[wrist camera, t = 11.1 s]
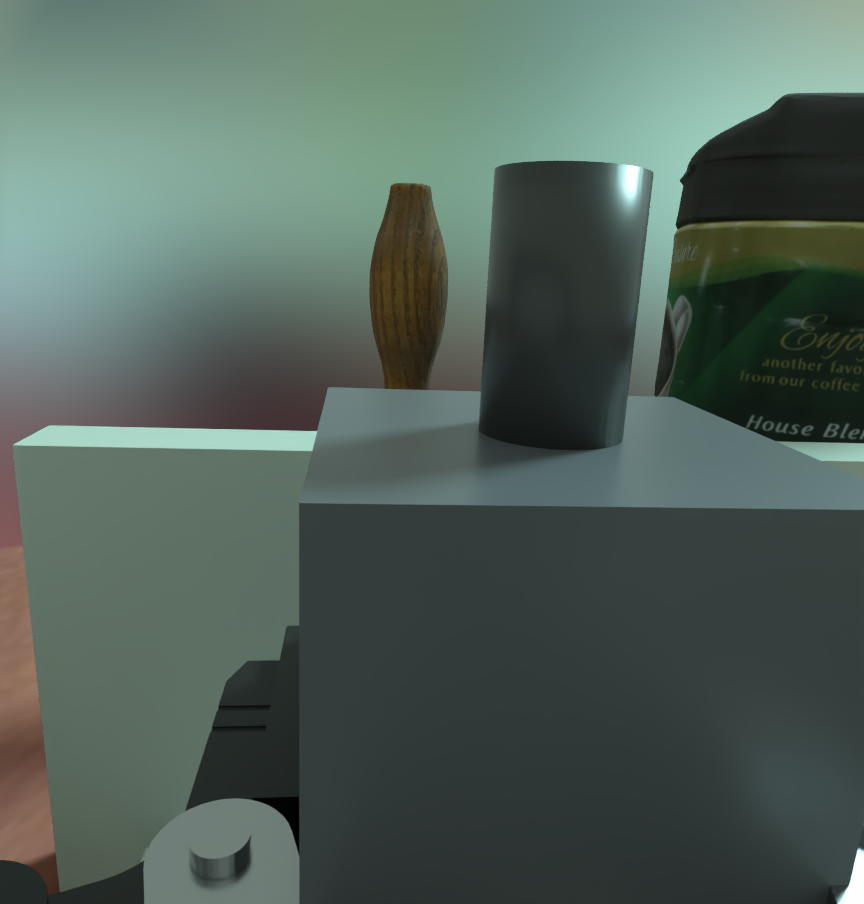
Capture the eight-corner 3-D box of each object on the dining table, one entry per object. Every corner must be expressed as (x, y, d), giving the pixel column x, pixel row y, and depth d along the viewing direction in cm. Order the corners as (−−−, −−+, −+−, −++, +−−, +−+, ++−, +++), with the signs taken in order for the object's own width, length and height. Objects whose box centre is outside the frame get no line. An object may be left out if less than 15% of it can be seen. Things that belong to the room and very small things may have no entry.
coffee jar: (905, 769, 21) (1081, 61, 16) (623, 719, 23) (708, 65, 18) (815, 617, 30) (911, 137, 25) (620, 590, 32) (675, 135, 27)
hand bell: (285, 710, 22) (281, 158, 18) (291, 591, 30) (289, 188, 26) (542, 695, 24) (592, 180, 20) (483, 585, 32) (510, 202, 28)
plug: (299, 1539, 7) (296, 94, 4) (321, 1052, 12) (331, 184, 8) (722, 1481, 8) (1042, 147, 4) (589, 1035, 12) (698, 204, 9)
